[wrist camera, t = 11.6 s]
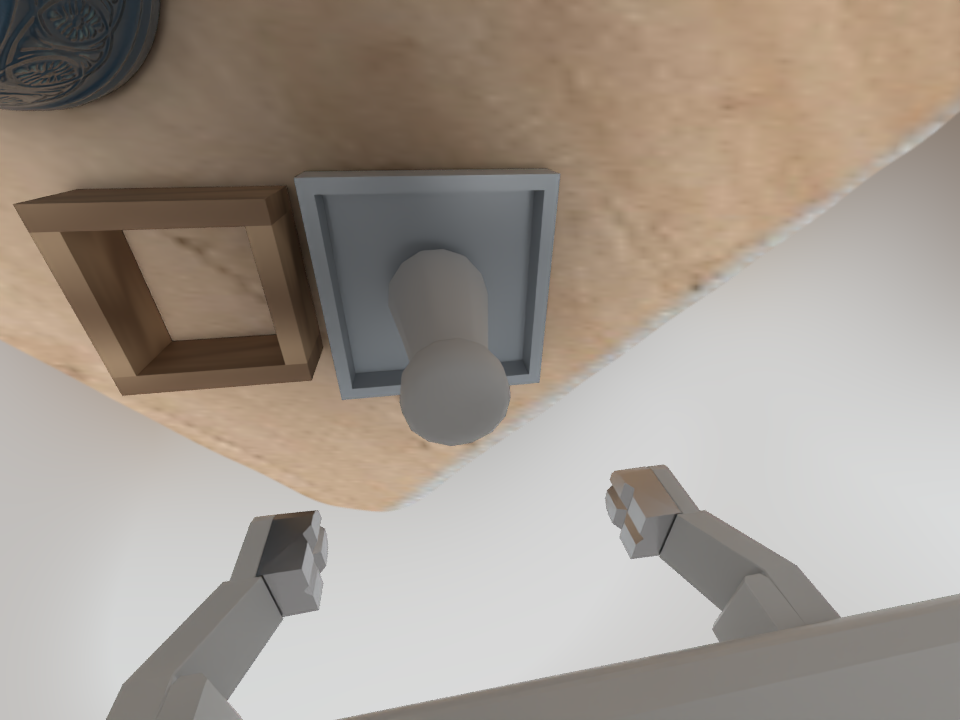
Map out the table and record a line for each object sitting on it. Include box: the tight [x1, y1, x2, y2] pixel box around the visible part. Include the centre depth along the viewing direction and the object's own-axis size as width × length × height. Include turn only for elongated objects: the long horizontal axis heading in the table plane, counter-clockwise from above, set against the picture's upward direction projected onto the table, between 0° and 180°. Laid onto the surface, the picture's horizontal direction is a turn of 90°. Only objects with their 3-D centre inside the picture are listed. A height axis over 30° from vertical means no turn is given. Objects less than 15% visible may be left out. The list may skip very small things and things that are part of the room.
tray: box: [294, 168, 560, 400], centre depth 25 cm, size 14×14×2 cm
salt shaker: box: [388, 249, 511, 446], centre depth 20 cm, size 6×6×13 cm
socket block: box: [13, 186, 323, 396], centre depth 22 cm, size 10×10×4 cm
